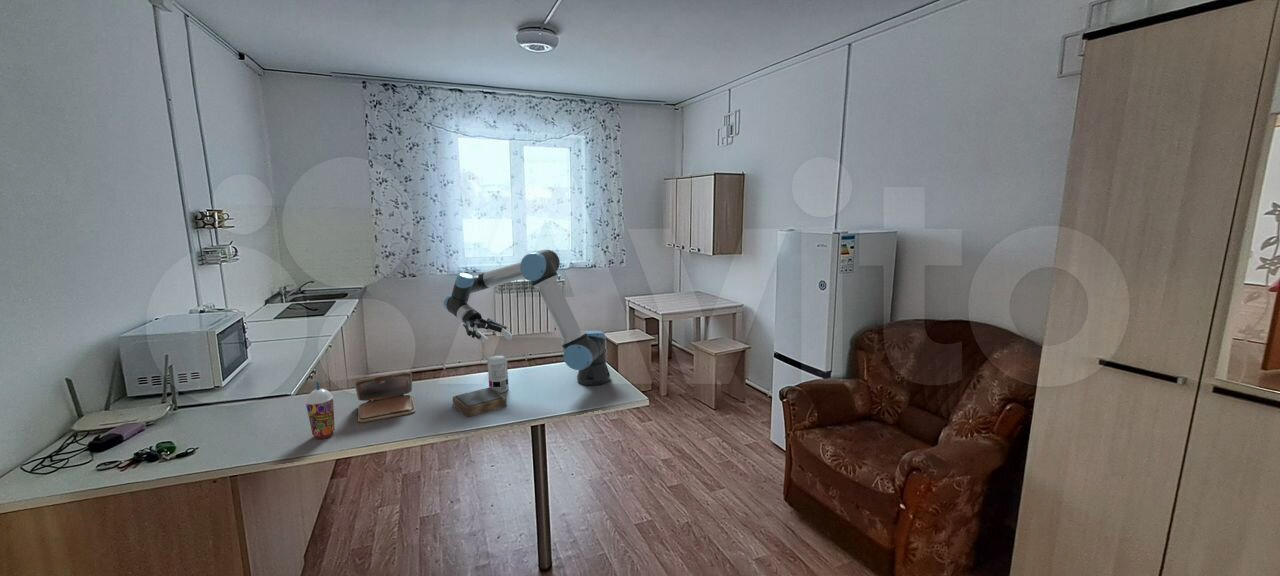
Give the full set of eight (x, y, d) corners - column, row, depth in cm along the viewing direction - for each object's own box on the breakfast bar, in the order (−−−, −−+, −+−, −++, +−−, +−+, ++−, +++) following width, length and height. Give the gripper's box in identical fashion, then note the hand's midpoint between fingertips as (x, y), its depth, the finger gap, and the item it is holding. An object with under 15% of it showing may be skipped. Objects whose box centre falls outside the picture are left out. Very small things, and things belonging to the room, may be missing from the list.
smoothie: (317, 442, 174) (310, 387, 171) (305, 437, 179) (298, 383, 175) (342, 433, 181) (336, 380, 178) (330, 428, 186) (323, 376, 182)
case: (413, 396, 217) (409, 360, 214) (416, 413, 198) (412, 374, 196) (358, 406, 207) (354, 368, 205) (357, 425, 189) (352, 384, 186)
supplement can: (485, 392, 219) (483, 359, 217) (497, 386, 227) (495, 354, 224) (500, 395, 216) (498, 361, 214) (512, 388, 224) (510, 355, 221)
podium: (490, 395, 216) (490, 386, 215) (506, 406, 204) (505, 397, 203) (453, 404, 206) (452, 395, 206) (467, 417, 194) (466, 407, 193)
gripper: (489, 321, 237) (518, 344, 226) (443, 326, 216) (472, 350, 205) (493, 307, 235) (523, 329, 225) (447, 310, 214) (477, 334, 204)
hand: (499, 339), depth 215 cm, fingers open, 13 cm apart
